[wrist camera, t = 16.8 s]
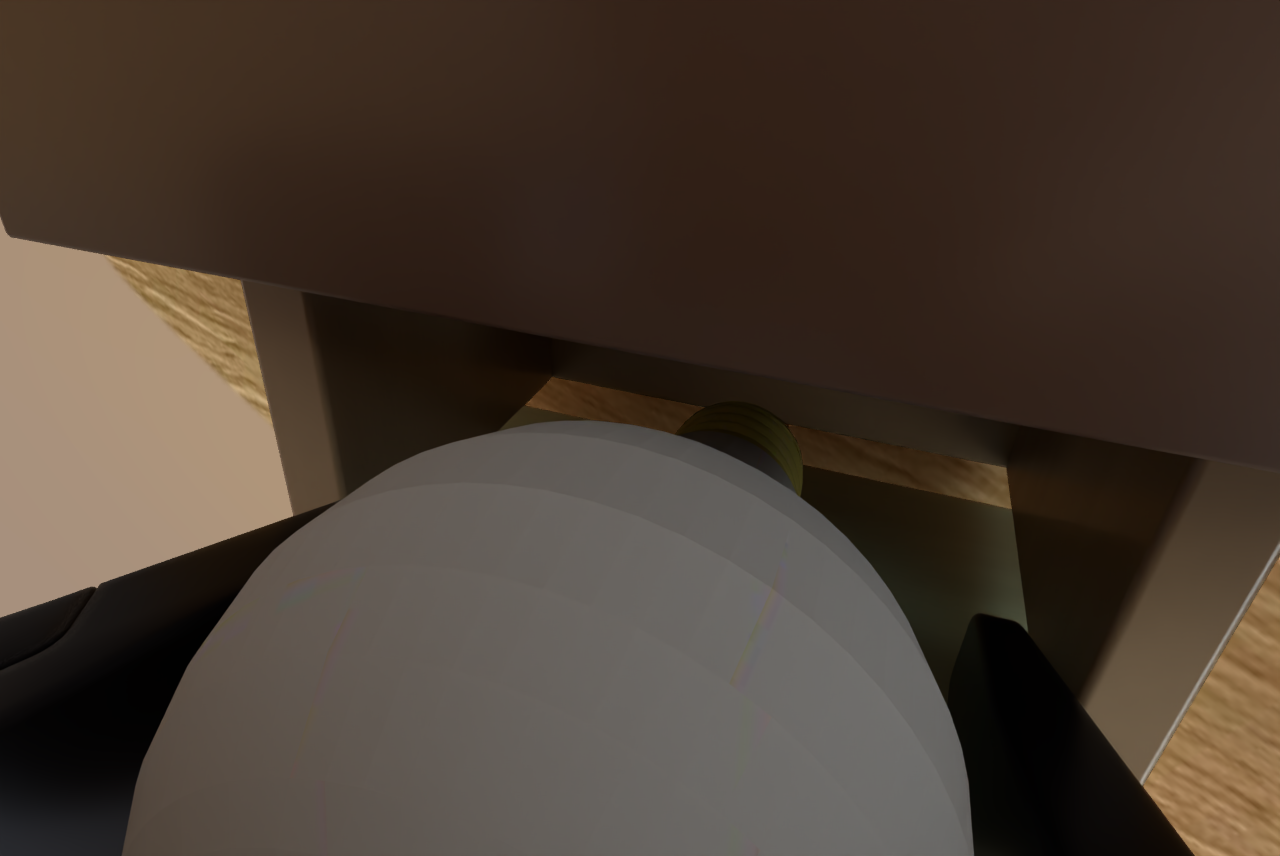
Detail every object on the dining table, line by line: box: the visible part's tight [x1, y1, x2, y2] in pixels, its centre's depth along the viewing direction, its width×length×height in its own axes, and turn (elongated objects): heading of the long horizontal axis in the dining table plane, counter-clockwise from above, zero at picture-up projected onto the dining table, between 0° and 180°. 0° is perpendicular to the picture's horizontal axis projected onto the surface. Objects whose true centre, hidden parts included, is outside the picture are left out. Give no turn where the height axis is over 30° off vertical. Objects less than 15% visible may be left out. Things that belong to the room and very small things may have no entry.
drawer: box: [241, 280, 1280, 786], centre depth 10 cm, size 16×10×7 cm, turn 177°
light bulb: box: [122, 401, 974, 856], centre depth 8 cm, size 6×6×10 cm
